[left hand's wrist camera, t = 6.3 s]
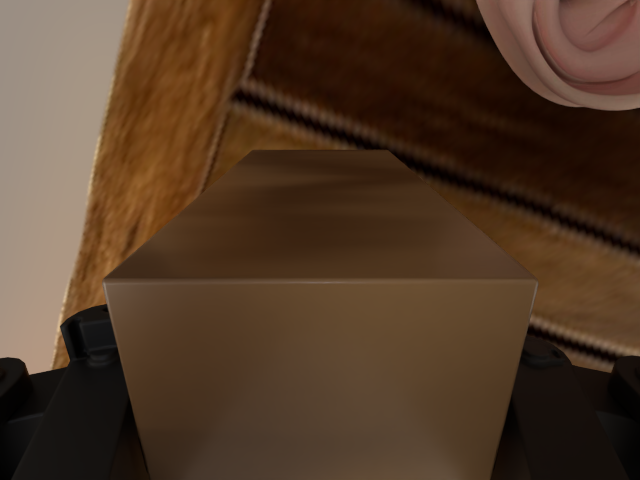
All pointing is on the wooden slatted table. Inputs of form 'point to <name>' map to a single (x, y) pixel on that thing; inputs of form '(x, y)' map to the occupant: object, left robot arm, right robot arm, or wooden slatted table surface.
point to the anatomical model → (571, 48)
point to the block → (320, 327)
